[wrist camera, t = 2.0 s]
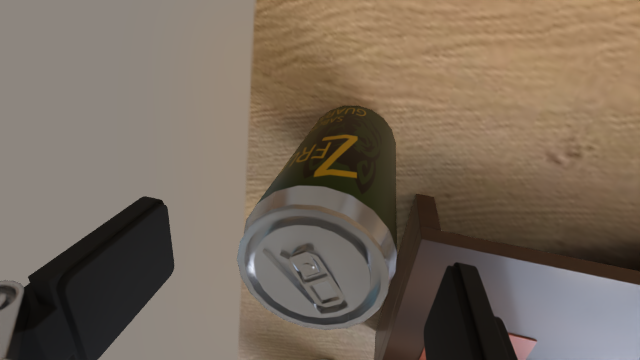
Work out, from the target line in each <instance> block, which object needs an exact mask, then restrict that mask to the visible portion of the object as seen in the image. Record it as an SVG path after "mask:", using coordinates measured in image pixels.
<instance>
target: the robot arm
mask: <svg viewBox="0 0 640 360" xmlns="http://www.w3.org/2000/svg"><path fill="white" fill-rule="evenodd" d="M173 270H174V259H173V250H172V242H171V234H170V225H169V216H168V209H167V206H166V205H164V203H163V201H162V200H160V199H155V198H151V197H142V198H140V199H139V200H137V201H136V202H134V203H133V204H132V205H130V206H128V207H127V208H126V209H124V210H123V211H121V212H120V213H118V214H117V215H116V216H114V217H113V218H111V219H110V220H108V221H107V222H106V223H104V224H103V225H101V226H100V227H98V228H97V229H96V230H94V231H93V232H92V233H90V234H88V235H87V236H86V237H84V238H83V239H81V240H80V241H78V242H77V243H76V244H74V245H73V246H71V247H70V248H68V249H67V250H66V251H64V252H63V253H61V254H60V255H58V256H57V257H56V258H54V259H53V260H51V261H50V262H49V263H47V264H46V265H44V266H43V267H41V268H40V269H38V270H37V271H36V272H34V273H33V274H31V275H30V276H29V277H28V278H29V281H30V283H29V284H28V285H27V286H25V287H23V286H22V285H21V284H20V283H18V282H15V281H6V280H4V281H0V360H97V359H98V358H99V357H100V356H101V355H102V354H103V353H104V352H105V351H106V350H107V348H108V347H109V346H110V345H111V344H112V343H113V341H114V340H115V339H116V338H117V337H118V336H119V335H120V333H121V332H122V331H123V330H124V329H125V328H126V326H127V325H128V324H129V323H130V322H131V321H132V320H133V318H134V317H135V316H136V315H137V314H138V313H139V312H140V310H141V309H142V308H143V307H144V306H145V305H146V303H147V302H148V301H149V300H150V299H151V298H152V297H153V295H154V294H155V293H156V292H157V291H158V290H159V288H160V287H161V286H162V285H163V284H164V283H165V282H166V280H167V279H168V278H169V277H170V276H171V274H172V272H173ZM424 346H425V355H426V360H518V359H517V356H516V353H515V351H514V348H513V345H512V343H511V340H510V338H509V335H508V332H507V330H506V327H505V325H504V323H503V321H502V319H501V318H500V317H497V316H494V314H493V311H492V308H491V305H490V302H489V300H488V297H487V294H486V291H485V288H484V286H483V283H482V280H481V277H480V274H479V272H478V269H477V267H476V266H473V265H468V264H463V263H459V262H455V263H454V265H453V266H450V265H449V266H447V268H446V270H445V273H444V275H443V278H442V281H441V283H440V286H439V289H438V291H437V294H436V296H435V299H434V302H433V304H432V307H431V310H430V312H429V315H428V318H427V320H426V323H425V326H424Z"/></svg>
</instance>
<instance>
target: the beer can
mask: <svg viewBox="0 0 640 360" xmlns="http://www.w3.org/2000/svg"><path fill="white" fill-rule="evenodd" d="M396 256H397V226H396V142H395V139H394V135H393V132H392V129H391V128H390V127H389V125H388V124H387V122H386V121H385V120H384V118H382V117H381V116H380V115H378V114H377V113H375V112H374V111H372V110H370V109H367V108H364V107H361V106H342V107H339V108H336V109H333V110H330V111H329V112H328V113H326V114H325V115H324V116H322V117H321V118H320V119H319V120H318V121H317V123H316V124H315V126H314V127H313V128H312V130H311V131H310V132H309V134H308V135H307V136H306V138H305V139H304V141H303V142H302V143H301V145H300V146H299V147H298V149H297V150H296V151H295V153H294V154H293V156H292V157H291V158H290V160H289V161H288V162H287V164H286V165H285V166H284V168H283V169H282V171H281V172H280V173H279V175H278V176H277V177H276V179H275V180H274V181H273V183H272V184H271V186H270V187H269V188H268V190H267V191H266V192H265V194H264V195H263V196H262V198H261V199H260V201H259V202H258V203H257V205H256V206H255V208H254V209H253V211H252V212H251V214H250V215H249V217H248V218H247V220H246V225H245V230H244V236H243V238H242V239H241V241H240V245H239V250H238V256H237V261H238V266H239V270H240V275H241V278H242V280H243V281H244V283H245V285H246V286H247V288H248V290H249V292H250V293H251V294H252V295H253V296H254V297H255V298H256V299H257V300H258V301H259V302H260V303H261V304H262V305H263V306H264V307H265V308H266V309H267V310H269V311H271V312H272V313H274V314H275V315H277V316H279V317H280V318H282V319H284V320H286V321H289V322H292V323H294V324H297V325H300V326H303V327H307V328H315V329H322V330H331V329H342V328H348V327H351V326H353V325H356V324H359V323H361V322H364V321H366V320H367V319H368V318H369V317H371V316H372V315H373V314H374V313H375V312H377V311H378V310H379V309H380V307H381V305H382V303H383V302H384V300H385V298H386V296H387V294H388V285H389V283H390V282H391V280H392V278H393V276H394V274H395V272H396Z"/></svg>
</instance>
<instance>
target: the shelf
mask: <svg viewBox="0 0 640 360" xmlns="http://www.w3.org/2000/svg"><path fill="white" fill-rule="evenodd" d="M455 262H459V263H463V264H468V265H473V266H476V267H477V269H478V272H479V274H480V277H481V280H482V283H483V286H484V288H485V291H486V294H487V297H488V300H489V302H490V305H491V308H492V311H493V314H494V316H497V317H500V318H501V319H502V321H503V323H504V325H505V327H506V330H507V332H508V335H509V338H510V340H511V343H512V345H513V348H514V351H515V353H516V356H517V359H518V360H640V271H635V270H631V269H626V268H621V267H616V266H611V265H606V264H601V263H596V262H592V261H587V260H582V259H577V258H572V257H567V256H562V255H557V254H552V253H548V252H543V251H538V250H533V249H528V248H523V247H518V246H513V245H509V244H504V243H499V242H494V241H489V240H484V239H479V238H474V237H469V236H465V235H460V234H455V233H450V232H445V231H441V227H440V222H439V217H438V213H437V208H436V204H435V199H434V197H430V196H425V195H420V194H416V195H415V199H414V202H413V206H412V209H411V213H410V216H409V219H408V223H407V226H406V230H405V233H404V237H403V240H402V244H401V247H400V251H399V254H398V257H397V261H396V272H395V274H394V276H393V278H392V280H391V282H390V285H389V289H388V294H387V296H386V299H385V302H384V306H383V309H382V313H381V316H380V320H379V323H378V327H377V330H376V337H375V354H374V360H426V355H425V346H424V326H425V323H426V320H427V318H428V315H429V312H430V310H431V307H432V304H433V302H434V299H435V296H436V294H437V291H438V289H439V286H440V283H441V281H442V278H443V275H444V273H445V270H446V268H447V266H449V265H450V266H453V265H454V263H455Z"/></svg>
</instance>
